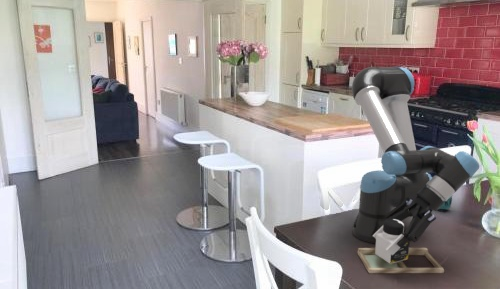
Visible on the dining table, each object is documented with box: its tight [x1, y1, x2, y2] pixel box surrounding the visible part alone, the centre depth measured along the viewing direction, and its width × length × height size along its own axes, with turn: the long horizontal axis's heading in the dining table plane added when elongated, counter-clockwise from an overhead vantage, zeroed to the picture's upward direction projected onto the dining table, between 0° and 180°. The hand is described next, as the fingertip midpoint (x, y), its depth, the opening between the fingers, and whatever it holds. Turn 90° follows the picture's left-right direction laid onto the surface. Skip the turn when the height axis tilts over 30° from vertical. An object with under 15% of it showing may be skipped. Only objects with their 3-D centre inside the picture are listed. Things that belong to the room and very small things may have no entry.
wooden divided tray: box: [357, 247, 445, 274], centre depth 127 cm, size 23×12×2 cm, turn 91°
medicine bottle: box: [375, 219, 410, 264], centre depth 124 cm, size 7×7×12 cm
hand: (382, 245), depth 124 cm, fingers closed on medicine bottle, 8 cm apart
